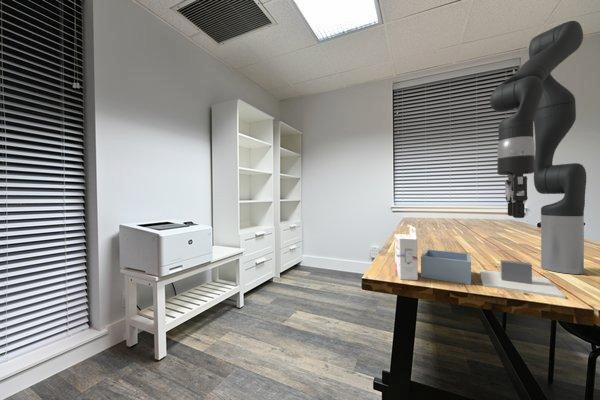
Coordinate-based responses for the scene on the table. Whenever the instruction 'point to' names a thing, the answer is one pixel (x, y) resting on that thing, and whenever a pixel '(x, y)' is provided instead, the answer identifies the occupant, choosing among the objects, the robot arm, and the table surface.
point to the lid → (519, 280)
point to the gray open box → (446, 266)
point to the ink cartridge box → (406, 255)
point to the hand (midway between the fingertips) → (515, 216)
